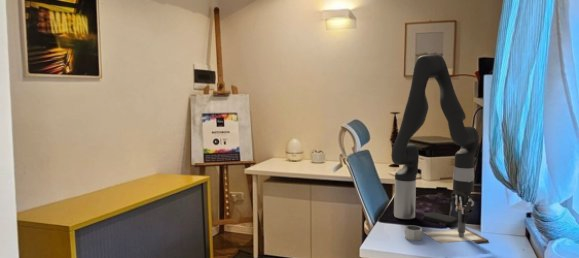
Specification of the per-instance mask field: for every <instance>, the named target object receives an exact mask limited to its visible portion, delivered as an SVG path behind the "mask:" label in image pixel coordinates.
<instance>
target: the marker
mask: <svg viewBox="0 0 579 258" xmlns="http://www.w3.org/2000/svg"><path fill="white" fill-rule="evenodd" d="M463 206H466V205H463ZM465 209H466V208H465ZM465 209H464V211H465ZM461 214H462V208H461V207H460V205H459V207H458V225H457V228H458V232H459V234H458V235H459V236H464V233H465V228H466V224H467V223H465V224H463V223H461Z"/></svg>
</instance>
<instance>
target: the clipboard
mask: <svg viewBox="0 0 579 258" xmlns="http://www.w3.org/2000/svg"><path fill="white" fill-rule="evenodd" d="M422 234H426V235H427V236H428V237H429V238H431V239H432V240H434V241H436V242H437V243H439V244H447V243H458V242H469V241H470V242H473V243H475V244H485V243H489V239H488V238H485V237H483V236H481V235H479V234H478V233H477V232H474V231H472V230H470V229H468V228H466V227H465V233H464V236H459V235H458V234H459V232H458V227H457V228H450V229H440V230H430V231H429V230H428V231H422Z"/></svg>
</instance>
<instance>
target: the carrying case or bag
mask: <svg viewBox="0 0 579 258" xmlns="http://www.w3.org/2000/svg"><path fill="white" fill-rule="evenodd" d="M421 220H422V221H428V222H431V223H435V224H439V225H440V226H444V227H447V228H448V229H449V228H450V229H452V228H454V227H456V226H458V221H457V220H456V217H455V216H451V215H447V214H443V213H439V212H432V211H431V212H429V213H426V214H423V215H422V216H421Z"/></svg>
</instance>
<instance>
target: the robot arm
mask: <svg viewBox="0 0 579 258" xmlns="http://www.w3.org/2000/svg"><path fill="white" fill-rule="evenodd" d="M412 73H413V74H412V80H411V84H410V89H409V93H408V98H407V100H406V101H407V102H406V104H405V108H404V112H403V116H402V120H401V124H400V126H399V127H400V128H399V130H398V133H397V136H396V139H395V140H394V143H393V145H392V149H391V154H390V155H391V160H392V163H393V164H394V165H399V166H402V165H403V167H402V168H401V169H399V170H398V171H395V174H394V193H393V194H394V195H393V197H394V198H393V199H394V201H393V215H394V217H395V218H397V219H401V220H412V219H415V218H416V198H417V197H416V193H417V192H416V191H417V189H416V188H417V175H418V170H419V159H420V157H419V155H420V154H419V149H418V146H417V145H416V144H415V143H409V142H410V140H411V138H413V136H414V135H415V134H416V133H417V132H418V131H419V130H420V129H421V128H422V127H423V125H424V124H425V122H426V119H427V115H428V112H429V102H428V98H427V95H426V90H427V89H426V88H427V85H428V82H429V79H433V78H434V79H435V81H436V82H437V85H438V87H439V103H440V108H441V111H442V113H443V115H444V117H445V118H446V119H445V120H446V121H447V124H448V129H449V135H450V139H451V140H452V142H453V143H454V144H455V145H457V146H459V147H460V149H459V150H457V151H456V152H455V154H454V167H453V175H452V181H453V182H452V189H453V191H454V192H452V193H450V199H451V203H452V209H455V212H456V214H455V215H456V220H457V221H458V207H459V205H460V207H461V208H462V214H461V223H463V224H465V223H466V224H467V223H468V218H469V217H468V216H469V214H471V215H472V214H473V211H474V209H475V207H476V204H477V203H476V200H473V199H472V195H471V194H472V193H473V192H474V189H475V157H476V152H477V149H478V145H479V141H480V136H479V132H478V130H477V129H476V128H475V127H473V126H465V124H464V121H465V119H467V118H466V117H467V116H466V113H465V111H464V108H463V107H462V105H461V103H460V101H459V99H458V97H457V94H456V92H455V89H454V85H453V82H452V79H451V75H450V72H449V69H448V66H447V63H446V60H445V59H444V57H443V56H442V55H440V54H426V55H420V56H419V57H418V58H416V61H415V64H414V67H413V72H412ZM463 205H466V206H463ZM465 208H466V209H465ZM464 209H465V211H464ZM466 224H465V225H466Z"/></svg>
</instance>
